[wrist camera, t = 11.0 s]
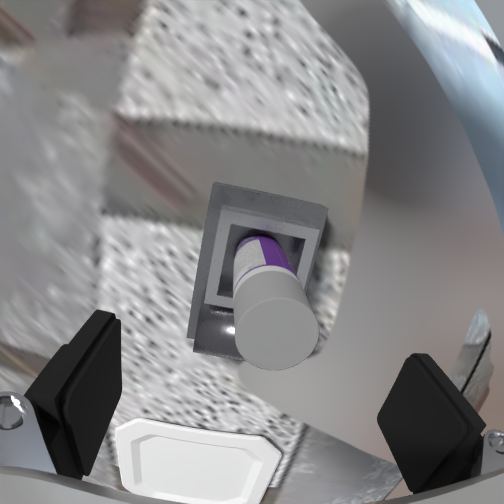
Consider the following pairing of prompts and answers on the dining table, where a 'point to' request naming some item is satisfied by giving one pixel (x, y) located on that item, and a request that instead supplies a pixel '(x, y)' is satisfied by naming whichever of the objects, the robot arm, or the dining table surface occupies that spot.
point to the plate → (194, 463)
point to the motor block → (223, 247)
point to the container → (270, 306)
